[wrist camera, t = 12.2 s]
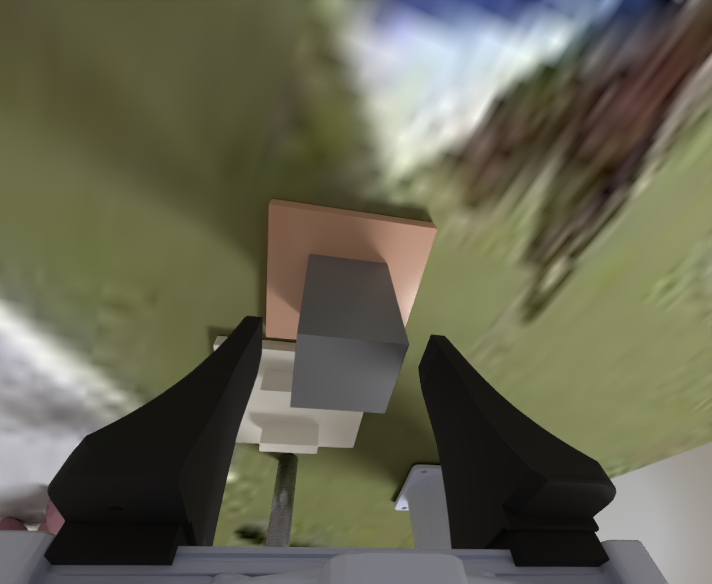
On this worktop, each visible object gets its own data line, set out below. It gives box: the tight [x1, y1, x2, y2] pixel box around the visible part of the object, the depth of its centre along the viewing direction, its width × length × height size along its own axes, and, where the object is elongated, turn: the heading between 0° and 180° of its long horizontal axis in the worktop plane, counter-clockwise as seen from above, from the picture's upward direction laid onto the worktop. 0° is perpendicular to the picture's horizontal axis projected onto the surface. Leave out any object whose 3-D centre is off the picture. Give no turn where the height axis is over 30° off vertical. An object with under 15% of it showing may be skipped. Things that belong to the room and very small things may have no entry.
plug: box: [290, 254, 409, 413], centre depth 15 cm, size 4×4×6 cm
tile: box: [266, 199, 437, 340], centre depth 18 cm, size 8×8×1 cm
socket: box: [214, 336, 363, 547], centre depth 21 cm, size 10×14×7 cm
